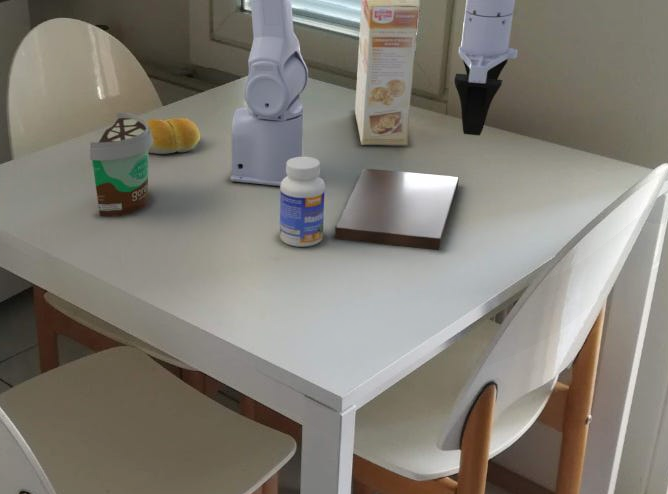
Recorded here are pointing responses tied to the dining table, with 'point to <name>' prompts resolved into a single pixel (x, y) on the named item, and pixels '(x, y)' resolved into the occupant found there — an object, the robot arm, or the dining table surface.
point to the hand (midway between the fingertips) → (475, 123)
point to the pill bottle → (302, 203)
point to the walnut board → (398, 209)
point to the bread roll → (173, 135)
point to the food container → (122, 165)
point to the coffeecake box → (385, 70)
